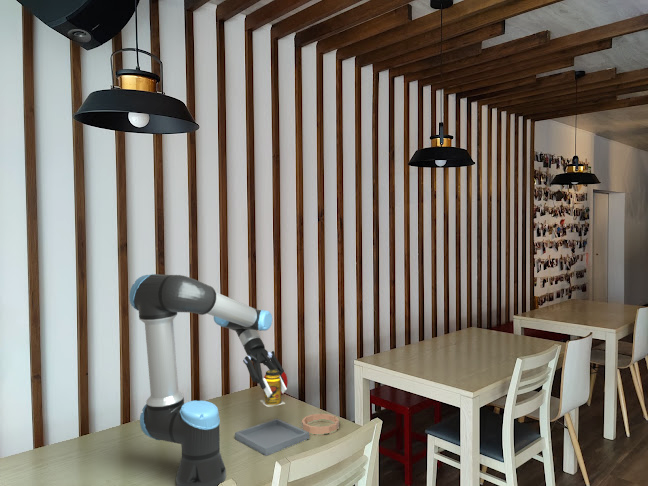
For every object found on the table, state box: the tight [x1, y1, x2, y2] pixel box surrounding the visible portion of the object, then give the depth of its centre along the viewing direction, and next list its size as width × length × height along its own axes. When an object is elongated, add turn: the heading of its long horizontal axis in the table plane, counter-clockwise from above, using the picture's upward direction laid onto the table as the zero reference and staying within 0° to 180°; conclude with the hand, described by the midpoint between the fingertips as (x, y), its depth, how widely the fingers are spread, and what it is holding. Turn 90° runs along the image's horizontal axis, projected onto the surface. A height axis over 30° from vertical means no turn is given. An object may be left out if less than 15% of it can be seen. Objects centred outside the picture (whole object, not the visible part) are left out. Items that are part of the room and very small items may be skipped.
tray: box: [234, 418, 310, 457], centre depth 181 cm, size 20×20×2 cm
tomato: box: [263, 371, 288, 395], centre depth 233 cm, size 12×12×13 cm
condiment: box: [259, 369, 286, 408], centre depth 181 cm, size 7×8×12 cm
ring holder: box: [301, 413, 340, 434], centre depth 191 cm, size 14×14×3 cm
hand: (277, 393), depth 178 cm, fingers closed on condiment, 6 cm apart
